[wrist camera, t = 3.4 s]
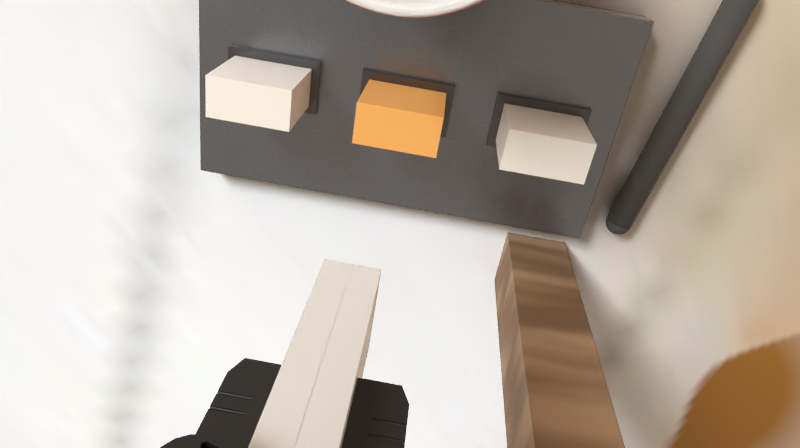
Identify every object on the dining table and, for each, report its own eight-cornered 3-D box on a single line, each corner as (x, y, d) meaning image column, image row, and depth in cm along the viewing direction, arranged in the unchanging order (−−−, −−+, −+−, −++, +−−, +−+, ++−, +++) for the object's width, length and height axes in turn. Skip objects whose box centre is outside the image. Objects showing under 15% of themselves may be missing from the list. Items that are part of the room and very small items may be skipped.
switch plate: (210, -60, 30) (196, -58, 28) (645, 16, 30) (655, 22, 28) (210, 160, 36) (198, 172, 34) (575, 225, 36) (580, 240, 34)
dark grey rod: (734, -31, 28) (746, -28, 27) (761, -22, 28) (775, -18, 27) (599, 222, 35) (604, 234, 34) (621, 229, 35) (627, 241, 34)
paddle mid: (369, 79, 31) (356, 102, 27) (446, 92, 31) (443, 117, 27) (364, 116, 32) (351, 143, 28) (439, 129, 32) (436, 158, 28)
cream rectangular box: (504, 103, 31) (509, 129, 27) (582, 116, 31) (597, 144, 27) (495, 139, 32) (499, 169, 28) (570, 153, 32) (583, 184, 28)
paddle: (235, 55, 31) (205, 75, 27) (311, 69, 31) (291, 90, 27) (234, 93, 32) (205, 117, 28) (308, 106, 32) (289, 131, 28)
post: (507, 232, 36) (540, 488, 20) (565, 242, 36) (642, 507, 20) (494, 280, 38) (515, 550, 22) (549, 290, 38) (609, 568, 22)
